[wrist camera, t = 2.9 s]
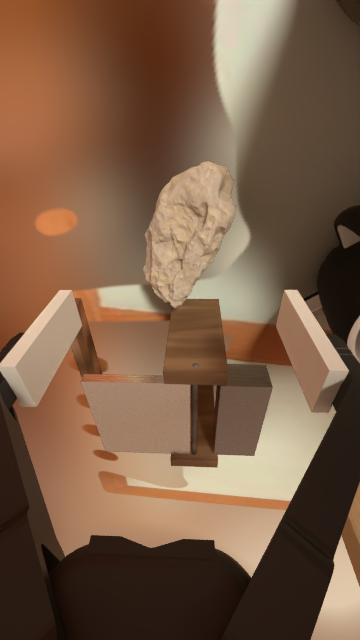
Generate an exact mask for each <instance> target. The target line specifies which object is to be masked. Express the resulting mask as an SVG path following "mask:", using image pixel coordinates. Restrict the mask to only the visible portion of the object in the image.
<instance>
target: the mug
mask: <svg viewBox="0 0 360 640" xmlns="http://www.w3.org/2000/svg"><path fill="white" fill-rule="evenodd" d="M334 228H335V231H336V234H337V237H338V240H339V242H340V245H339V246H338V247H336V248H335V249H334V250H333V251H332V252H331V253H330V254H329V255H328V256H327V257H326V259H325V260H324V262H323V263H322V265H321V268H320V270H319V273H318V279H317V288H318V292H316V293H314V294H312V295H310V296H308V297H306V298H304V299H303V300H304V301H305V303H306V305H307V306H308V308H309V309H310V311H311V312H312V313H313V312H315V311H317V310H319V309H321V308H323V311H324V313H325V316H326V319H327V321H328V324H329V327H330V328H331V330H332V332H333V334H336V335H337V336H338V337H340V338H341V339H342V340H344V342H345V343H346V345H347V346H348V348H349V349H350V350H351V352H352V353H353V355H354V356H355V357H356V359H357V360H358V362H359V363H360V205H358V206H353V207H350V208H348V209H346V210H344V211H343V212H342V213H340V214H339V215H338V216H337V217H336V219H335V222H334Z"/></svg>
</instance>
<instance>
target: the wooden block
mask: <svg viewBox="0 0 360 640" xmlns="http://www.w3.org/2000/svg"><path fill="white" fill-rule="evenodd" d="M341 535H342V538H343V541H344V543H345V546H346V549H347V552H348V555H349V558H350V560H351V563H352V566H353V569H354V572H355V574H356V577H357V580H358V583H359V586H360V483H359V486H358V489H357V491H356V494H355V497H354V500H353V503H352V506H351V509H350V511H349V514H348V517H347V520H346V523H345V526H344V529H343V532H342V534H341Z"/></svg>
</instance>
